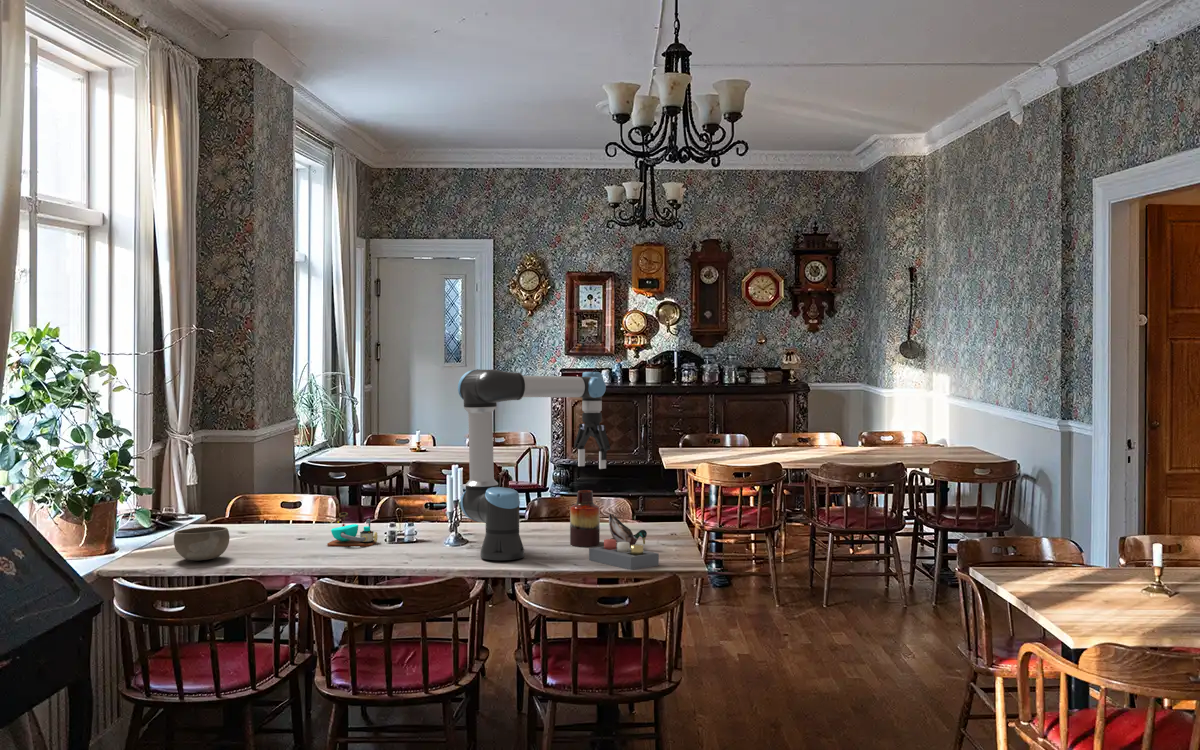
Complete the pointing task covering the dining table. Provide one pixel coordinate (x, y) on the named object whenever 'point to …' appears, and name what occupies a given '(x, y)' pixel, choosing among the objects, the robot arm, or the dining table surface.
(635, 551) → the gold rounded piece
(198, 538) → the bowl
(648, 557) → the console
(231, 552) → the dining table surface
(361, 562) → the dining table surface
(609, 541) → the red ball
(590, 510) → the vase
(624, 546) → the ivory button
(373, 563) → the dining table surface
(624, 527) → the decorative duck model
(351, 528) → the contraption on wooden base
